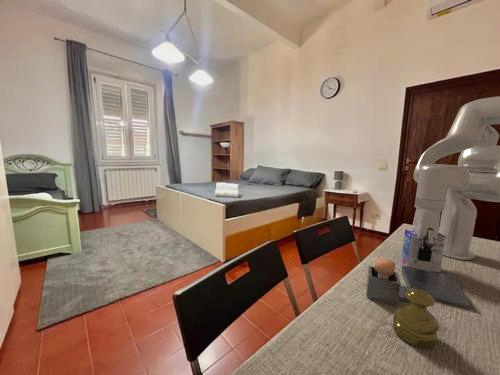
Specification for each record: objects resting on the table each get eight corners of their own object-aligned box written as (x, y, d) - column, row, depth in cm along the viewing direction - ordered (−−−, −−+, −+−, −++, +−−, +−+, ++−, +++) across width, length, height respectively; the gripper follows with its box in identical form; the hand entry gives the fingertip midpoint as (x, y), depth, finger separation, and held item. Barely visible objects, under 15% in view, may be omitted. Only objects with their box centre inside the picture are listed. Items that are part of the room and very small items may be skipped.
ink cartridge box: (431, 264, 76) (438, 224, 74) (441, 273, 71) (449, 230, 69) (399, 261, 78) (405, 221, 76) (407, 269, 73) (413, 227, 71)
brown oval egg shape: (372, 275, 61) (375, 256, 60) (391, 279, 59) (394, 260, 59) (373, 283, 57) (376, 263, 57) (393, 288, 56) (396, 267, 55)
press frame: (365, 263, 76) (367, 246, 75) (449, 281, 66) (452, 262, 65) (366, 297, 58) (369, 276, 57) (483, 329, 48) (488, 304, 47)
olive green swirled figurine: (442, 339, 45) (450, 295, 44) (426, 356, 41) (435, 308, 40) (402, 316, 51) (408, 277, 50) (385, 329, 47) (391, 287, 46)
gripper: (410, 197, 81) (403, 244, 83) (421, 208, 65) (412, 265, 68) (436, 200, 77) (428, 249, 80) (454, 211, 62) (444, 271, 65)
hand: (421, 255), depth 74 cm, fingers closed on ink cartridge box, 6 cm apart
